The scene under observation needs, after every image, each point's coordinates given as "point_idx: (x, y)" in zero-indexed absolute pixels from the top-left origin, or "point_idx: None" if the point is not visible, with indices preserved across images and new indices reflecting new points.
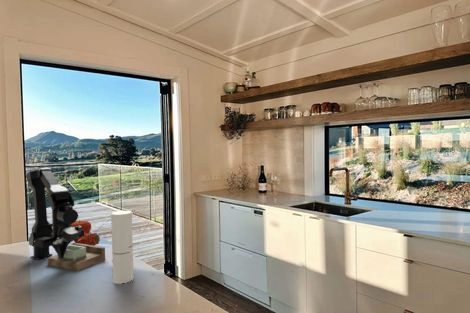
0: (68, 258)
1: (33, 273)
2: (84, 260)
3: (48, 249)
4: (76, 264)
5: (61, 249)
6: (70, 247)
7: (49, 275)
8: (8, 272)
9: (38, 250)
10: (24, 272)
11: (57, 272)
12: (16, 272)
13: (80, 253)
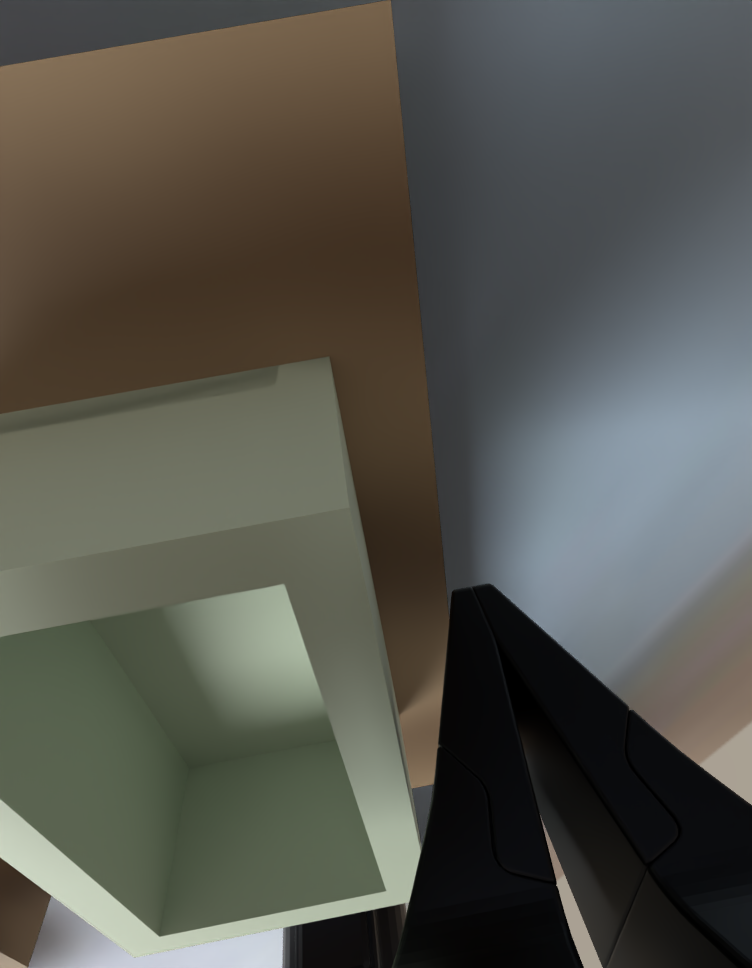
0: (363, 535)
1: (691, 575)
2: (92, 83)
3: (309, 939)
4: (392, 69)
5: (626, 772)
6: (158, 870)
7: (717, 341)
8: (711, 734)
9: (396, 947)
10: (684, 658)
11: (581, 362)
12: (699, 699)
13: (76, 460)
